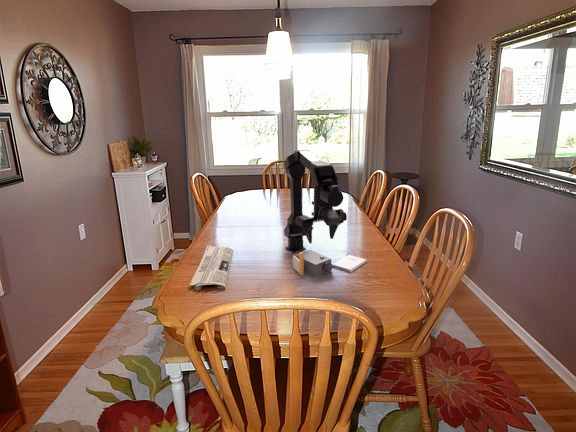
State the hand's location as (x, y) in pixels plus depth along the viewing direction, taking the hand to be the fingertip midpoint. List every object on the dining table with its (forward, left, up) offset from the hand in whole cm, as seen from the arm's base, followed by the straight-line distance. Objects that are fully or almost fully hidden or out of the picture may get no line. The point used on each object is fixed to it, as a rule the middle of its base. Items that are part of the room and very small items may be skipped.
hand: (321, 240), depth 137 cm
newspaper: (-29, -29, -13) cm, 43 cm away
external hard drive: (+2, +13, -13) cm, 19 cm away
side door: (-6, -6, -12) cm, 15 cm away
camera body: (-4, -1, -12) cm, 13 cm away
